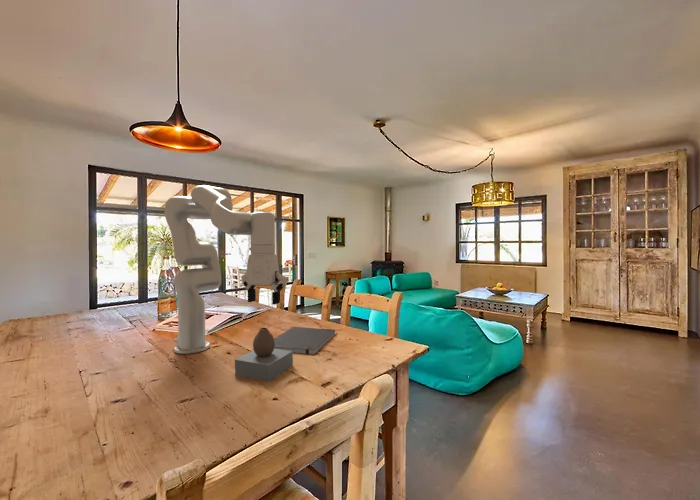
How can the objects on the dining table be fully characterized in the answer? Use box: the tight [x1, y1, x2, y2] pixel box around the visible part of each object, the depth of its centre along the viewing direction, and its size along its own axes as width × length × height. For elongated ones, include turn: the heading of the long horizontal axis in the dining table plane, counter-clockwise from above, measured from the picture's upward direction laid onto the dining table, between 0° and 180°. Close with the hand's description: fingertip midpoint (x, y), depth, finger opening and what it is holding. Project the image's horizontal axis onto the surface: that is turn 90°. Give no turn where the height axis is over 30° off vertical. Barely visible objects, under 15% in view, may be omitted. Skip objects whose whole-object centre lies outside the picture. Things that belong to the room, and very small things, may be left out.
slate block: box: [234, 349, 294, 383], centre depth 103 cm, size 13×13×5 cm
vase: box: [252, 327, 275, 357], centre depth 103 cm, size 7×7×9 cm
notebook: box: [274, 326, 336, 355], centre depth 133 cm, size 22×2×28 cm
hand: (263, 302), depth 103 cm, fingers open, 9 cm apart
